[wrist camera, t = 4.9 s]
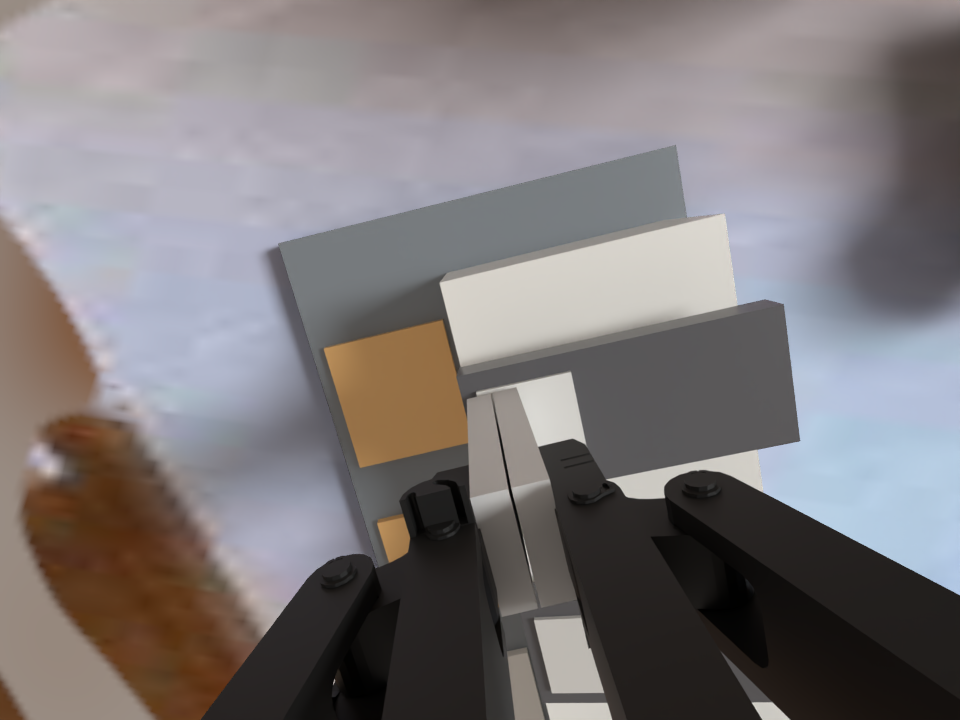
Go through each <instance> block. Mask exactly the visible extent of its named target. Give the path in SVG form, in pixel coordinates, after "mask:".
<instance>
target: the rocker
mask: <svg viewBox="0 0 960 720" xmlns="http://www.w3.org/2000/svg"><path fill="white" fill-rule="evenodd" d="M456 378H457V382H458V386H459V390H460V393H461V397H462V401H463V405H464V409H465V413H466V417H467V399H469V398H474V397H478V396H482V395H486V394H490V393H491V397H492V401H493V405H494V409H495V413H496V408H495V403H494V398H493V393H494V392H498V391H503V390H507V389H511V388H515V387H516V388H517V390H518V393H519V396H520V399H521V401H522V404H523V407H524V410H525V412H526V415H527V418H528V421H529V423H530V426H531V429H532V432H533V435H534V437H535V440H536V443H537V446H538V447H539V446H543V445H548V444H552V443H556V442H560V441H564V440H568V439H575V440H577V441H579V442H582V443H584V444H585V445H586V446H587V448H588V450H589V452H590V454H591V455H592V457H593V458H594V460H595V462H596V463H597V465H598V467H599V468H600V470H601V472H602V473H603V475H604V477H605V479H611V478H616V477H621V476H626V475H631V474H636V473H641V472H646V471H651V470H657V469H662V468H667V467H672V466H677V465H682V464H687V463H692V462H697V461H702V460H707V459H712V458H717V457H722V456H728V455H733V454H738V453H743V452H748V451H753V450H758V449H763V448H768V447H773V446H778V445H783V444H788V443H793V442H799V441H800V436H799V428H798V420H797V411H796V403H795V395H794V386H793V378H792V370H791V361H790V353H789V345H788V336H787V328H786V320H785V311H784V304H780V303H776V302H773V301H769V300H761V301H756V302H752V303H747V304H743V305H738V306H734V307H729V308H725V309H720V310H716V311H711V312H707V313H702V314H698V315H693V316H689V317H684V318H680V319H675V320H671V321H666V322H662V323H657V324H653V325H648V326H644V327H639V328H635V329H630V330H626V331H621V332H617V333H612V334H608V335H603V336H599V337H594V338H590V339H585V340H581V341H576V342H572V343H567V344H563V345H558V346H554V347H549V348H545V349H540V350H536V351H531V352H527V353H522V354H518V355H513V356H509V357H504V358H500V359H495V360H491V361H486V362H482V363H477V364H473V365H468V366H464V367H459V370H458V373H457V376H456ZM496 417H497V413H496ZM497 421H498V418H497ZM498 425H499V423H498ZM499 430H500V428H499ZM500 434H501V433H500Z"/></svg>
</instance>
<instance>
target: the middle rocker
mask: <svg viewBox="0 0 960 720" xmlns="http://www.w3.org/2000/svg"><path fill="white" fill-rule="evenodd" d="M533 586H534V591H535V596H536V601H537V606H538V609H534V610H530V611H525V612H521V613H520V616H521V620H522V624H523V628H524V632H525V635H526V639H527V643H528V647H529V651H530V655H531V659H532V663H533V667H534V671H535V675H536V679H537V683H538V687H539V691H540V694H541V698H542V702H543V703H607V701H606V697H605V694H604V691H603V687H602V684H601V681H600V677H599V674H598V671H597V668H596V664H595V661H594V658H593V654H592V651H591V648H590V649H588V645H587V640H586V636H585V632H584V627H583V623H582V619H581V614H580V610H579V606H578V601H577V600H573V601H569V602H564V603H560V604H556V605H551V606H547V607H543V608H541V605H540V601H539V597H538V593H537V589H536V585H535V582H533ZM721 653H722V652H721ZM722 655H723V656H724V658H725V660H726V661H727V663H728V665H729V666H730V668H731V669H732V671H733V673H734V674H735V676H736V678H737V679H738V681H739V682H740V684H741V686H742V687H743V689H744V691H745V692H746V694H747V696H748V697H749V699H750V700H751V702H772V701H771V700H770V699H769V698H768V697H767V696H766V695H765V694H764V693H763V692H762V691H761V690H760V689H759V688H758V687H757V686H755V685H754V684H753V683H752V682H751V681H750V680H749V679H748V678H747V677H746V676H745V675H744V674H743V673H742V672H741V671H740V670H739V669H738V668H737V667H736V666H735V665H734V664H733V663H732V662H731V661H730V660H729V659H728V658H727V657H726V656H725V655H724V654H723V653H722Z"/></svg>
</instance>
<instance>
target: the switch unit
mask: <svg viewBox="0 0 960 720" xmlns="http://www.w3.org/2000/svg"><path fill="white" fill-rule="evenodd" d="M278 245H279V248H280V251H281V255H282V258H283V261H284V264H285V267H286V271H287V274H288V277H289V280H290V283H291V287H292V290H293V293H294V296H295V300H296V303H297V306H298V309H299V312H300V316H301V319H302V322H303V325H304V328H305V332H306V335H307V338H308V341H309V345H310V348H311V351H312V354H313V357H314V361H315V364H316V367H317V370H318V373H319V377H320V380H321V383H322V386H323V390H324V393H325V396H326V399H327V402H328V406H329V409H330V412H331V415H332V418H333V422H334V425H335V428H336V431H337V435H338V438H339V441H340V444H341V447H342V451H343V454H344V457H345V460H346V463H347V467H348V470H349V473H350V476H351V480H352V483H353V486H354V489H355V492H356V496H357V499H358V502H359V505H360V508H361V512H362V515H363V518H364V521H365V524H366V528H367V531H368V534H369V537H370V541H371V544H372V547H373V550H374V553H375V557H376V560H377V563H378V566H379V567H381V566H383V565H385V564H388V563H390V562H392V561H394V560H396V559H398V558H400V557H402V556H403V555H405V554H406V553H408V549H409V542H410V536H409V532H408V529H407V526H406V522H405V519H404V516H403V513H402V509H401V506H400V503H399V500H400V498H401V497H402V495H403V494H404V493H405V492H406V491H408V490H409V489H410V488H412V487H413V486H415V485H417V484H419V483H421V482H424V481H427V480H430V479H432V478H433V477H434V476H435V475H436V473H437V472H441V471H445V470H450V469H454V468H458V467H462V466H466V465H469V454H468V423H467V417H466V413H465V409H464V405H463V401H462V397H461V393H460V390H459V386H458V382H457V378H456V376H457V373H458V370H459V367H464V366H468V365H473V364H477V363H482V362H486V361H491V360H495V359H500V358H504V357H509V356H513V355H518V354H522V353H527V352H531V351H536V350H540V349H545V348H549V347H554V346H558V345H563V344H567V343H572V342H576V341H581V340H585V339H590V338H594V337H599V336H603V335H608V334H612V333H617V332H621V331H626V330H630V329H635V328H639V327H644V326H648V325H653V324H657V323H662V322H666V321H671V320H675V319H680V318H684V317H689V316H693V315H698V314H702V313H707V312H711V311H716V310H720V309H725V308H729V307H734V306H737V298H736V291H735V284H734V277H733V269H732V262H731V255H730V248H729V240H728V233H727V226H726V219H725V214H717V215H707V216H698V217H688V218H687V215H686V208H685V202H684V195H683V189H682V182H681V175H680V169H679V162H678V156H677V149H676V145H675V146H671V147H667V148H663V149H659V150H654V151H650V152H646V153H642V154H638V155H634V156H630V157H626V158H622V159H618V160H614V161H610V162H606V163H602V164H598V165H594V166H590V167H586V168H582V169H578V170H574V171H570V172H566V173H562V174H557V175H553V176H549V177H545V178H541V179H537V180H533V181H529V182H525V183H521V184H517V185H513V186H509V187H505V188H501V189H497V190H493V191H489V192H485V193H481V194H477V195H473V196H469V197H465V198H461V199H456V200H452V201H448V202H444V203H440V204H436V205H432V206H428V207H424V208H420V209H416V210H412V211H408V212H404V213H400V214H396V215H392V216H388V217H384V218H380V219H376V220H372V221H368V222H364V223H360V224H355V225H351V226H347V227H343V228H339V229H335V230H331V231H327V232H323V233H319V234H315V235H311V236H307V237H303V238H299V239H295V240H291V241H287V242H283V243H279V244H278ZM695 470H697V471H699V470H708V471H715V472H721V473H724V474H727V475H730V476H732V477H734V478H736V479H738V480H740V481H742V482H744V483H746V484H748V485H749V486H751V487H753V488H755V489H757V490H759V491H761V492H763V487H762V479H761V472H760V465H759V458H758V450H753V451H748V452H743V453H738V454H733V455H728V456H722V457H717V458H712V459H707V460H702V461H697V462H692V463H687V464H682V465H677V466H672V467H667V468H662V469H657V470H651V471H646V472H641V473H636V474H631V475H626V476H621V477H616V478H611V479H606V480H608V481H611V482H614V483H615V484H617V485H618V486H619V487H620V488H621V490H622V491H623V493H624V494H625V496H626V497H629V498H636V499H657V498H665V496H664V486H665V485H666V484H667V482H668V481H669V480H670V479H672V478H674V477H676V476H678V475H680V474H684V473H688V472H689V471H695ZM523 538H524V537H523ZM524 542H525V541H524ZM525 547H526V545H525ZM526 552H527V549H526ZM527 557H528V553H527ZM528 562H529V567H530V572H531V577H532V581H533V582H535V581H534V577H533V573H532V569H531V565H530V561H529V557H528ZM498 606H499V604H498ZM499 614H500V618H501V621H502V625H503V629H504V632H505V639H506V647H507V656H508V664H509V673H510V681H511V689H512V698H513V706H514V715H515V720H612V717H611V714H610V711H609V707H608V704H607V703H543V702H542V698H541V694H540V691H539V687H538V683H537V679H536V675H535V671H534V667H533V663H532V659H531V655H530V651H529V647H528V643H527V639H526V635H525V632H524V628H523V624H522V620H521V616H520V613H517V614H513V615H508V616H504V617H502V616H501V612H500V608H499ZM752 704H753V705H754V707H755V709H756V710H757V712H758V714H759V715H760V717H761V718H762V720H790V719H789V718H788V717H787V716H786V715H785V714H784V713H783V712H782V711H781V710H780V709H779V708H778V707H777V706H776V705H775V704H774V703H773V702H752Z"/></svg>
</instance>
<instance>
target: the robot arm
mask: <svg viewBox="0 0 960 720" xmlns="http://www.w3.org/2000/svg"><path fill="white" fill-rule="evenodd" d="M493 398H494V403H495V408H496V413H497V417H496V413H495V409H494V405H493V401H492V397H491V393H490V394H486V395H482V396H478V397H474V398H469V399H467V423H468V454H469V465H466V466H462V467H458V468H454V469H450V470H445V471H441V472H437V473H436V475H435V476H434V477H433V478H432V479H430V480H427V481H424V482H421V483H419V484H417V485H415V486H413V487H412V488H410V489H409V490H408V491H406V492H405V493H404V494H403V495H402V497H401V498H400V500H399V503H400V506H401V509H402V513H403V516H404V519H405V522H406V526H407V529H408V532H409V536H410V542H409V549H408V553H406V554H405V555H403V556H402V557H400V558H398V559H396V560H394V561H392V562H390V563H388V564H385V565H383V566H381V567H378V568H376V569H375V567H374V564H373V562H372V559H371V558H370V557H368V556H366V555H364V554H352V555H347V556H340V557H337V558H336V559H332V560H330V561H328V562H327V563H326V564H324V565H323V566H321V567H320V568H318V569H317V570H316V571H315V572H314V573H313V574H312V575H311V576H310V577H309V578H308V579H307V580H306V581H305V583H304V584H303V585H302V587H301V588H300V589H299V591H298V592H297V593H296V595H295V596H294V597H293V598H292V600H291V601H290V602H289V604H288V605H287V606H286V608H285V609H284V610H283V612H282V613H281V614H280V616H279V617H278V618H277V620H276V621H275V622H274V624H273V625H272V626H271V628H270V629H269V630H268V631H267V633H266V634H265V635H264V637H263V638H262V639H261V641H260V642H259V643H258V645H257V646H256V647H255V649H254V650H253V651H252V653H251V654H250V655H249V657H248V658H247V659H246V661H245V662H244V663H243V664H242V666H241V667H240V668H239V670H238V671H237V672H236V674H235V675H234V676H233V678H232V679H231V680H230V682H229V683H228V684H227V686H226V687H225V688H224V690H223V691H222V692H221V694H220V695H219V696H218V697H217V699H216V700H215V701H214V703H213V704H212V705H211V707H210V708H209V709H208V711H207V712H206V713H205V715H204V716H203V717H202V719H201V720H515V715H514V706H513V698H512V689H511V681H510V673H509V664H508V656H507V647H506V639H505V632H504V629H503V625H502V621H501V618H500V614H499V608H500V612H501V616H502V617H504V616H508V615H513V614H517V613H521V612H525V611H530V610H534V609H538V606H537V601H536V596H535V591H534V586H533V581H532V577H531V572H530V567H529V562H528V557H529V561H530V565H531V569H532V573H533V577H534V581H535V585H536V589H537V593H538V597H539V601H540V605H541V608H543V607H547V606H551V605H556V604H560V603H564V602H569V601H573V600H577V601H578V606H579V610H580V614H581V619H582V623H583V627H584V632H585V636H586V640H587V645H588V649H590V648H591V651H592V654H593V658H594V661H595V664H596V668H597V671H598V674H599V677H600V681H601V684H602V687H603V691H604V694H605V697H606V701H607V704H608V707H609V711H610V714H611V717H612V720H762V718H761V717H760V715H759V714H758V712H757V710H756V709H755V707H754V705H753V704H752V702H751V700H750V699H749V697H748V696H747V694H746V692H745V691H744V689H743V687H742V686H741V684H740V682H739V681H738V679H737V678H736V676H735V674H734V673H733V671H732V669H731V668H730V666H729V665H728V663H727V661H726V660H725V658H724V656H723V655H722V653H723V654H724V655H725V656H726V657H727V658H728V659H729V660H730V661H731V662H732V663H733V664H734V665H735V666H736V667H737V668H738V669H739V670H740V671H741V672H742V673H743V674H744V675H745V676H746V677H747V678H748V679H749V680H750V681H751V682H752V683H753V684H754V685H755V686H757V687H758V688H759V689H760V690H761V691H762V692H763V693H764V694H765V695H766V696H767V697H768V698H769V699H770V700H771V701H772V702H773V703H774V704H775V705H776V706H777V707H778V708H779V709H780V710H781V711H782V712H783V713H784V714H785V715H786V716H787V717H788V718H789V719H790V720H960V595H958V594H956V593H954V592H952V591H950V590H948V589H946V588H945V587H943V586H941V585H939V584H937V583H935V582H933V581H931V580H929V579H927V578H925V577H924V576H922V575H920V574H918V573H916V572H914V571H912V570H910V569H908V568H906V567H904V566H902V565H901V564H899V563H897V562H895V561H893V560H891V559H889V558H887V557H885V556H883V555H881V554H880V553H878V552H876V551H874V550H872V549H870V548H868V547H866V546H864V545H862V544H860V543H859V542H857V541H855V540H853V539H851V538H849V537H847V536H845V535H843V534H841V533H839V532H837V531H836V530H834V529H832V528H830V527H828V526H826V525H824V524H822V523H820V522H818V521H816V520H815V519H813V518H811V517H809V516H807V515H805V514H803V513H801V512H799V511H797V510H795V509H793V508H792V507H790V506H788V505H786V504H784V503H782V502H780V501H778V500H776V499H774V498H772V497H771V496H769V495H767V494H765V493H763V492H761V491H759V490H757V489H755V488H753V487H751V486H749V485H748V484H746V483H744V482H742V481H740V480H738V479H736V478H734V477H732V476H730V475H727V474H724V473H721V472H715V471H708V470H699V471H697V470H695V471H689V472H688V473H684V474H680V475H678V476H676V477H674V478H672V479H670V480H669V481H668V482H667V484H666V485H665V486H664V496H665V498H657V499H636V498H629V497H626V496H625V494H624V493H623V491H622V490H621V488H620V487H619V486H618V485H617V484H615V483H614V482H611V481H608V480H606V479H605V477H604V475H603V473H602V472H601V470H600V468H599V467H598V465H597V463H596V462H595V460H594V458H593V457H592V455H591V454H590V452H589V450H588V448H587V446H586V445H585V444H584V443H582V442H579V441H577V440H575V439H568V440H564V441H560V442H556V443H552V444H548V445H543V446H539V447H538V446H537V443H536V440H535V437H534V435H533V432H532V429H531V426H530V423H529V421H528V418H527V415H526V412H525V410H524V407H523V404H522V401H521V399H520V396H519V393H518V390H517V388H516V387H515V388H511V389H507V390H503V391H498V392H494V393H493ZM497 418H498V421H497ZM498 423H499V425H498ZM499 428H500V430H499ZM500 433H501V434H500ZM523 537H524V538H523ZM524 541H525V542H524ZM525 545H526V547H525ZM526 549H527V552H526ZM527 553H528V557H527ZM498 604H499V606H498ZM721 652H722V653H721ZM334 679H335V683H334V685H333V682H334Z"/></svg>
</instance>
